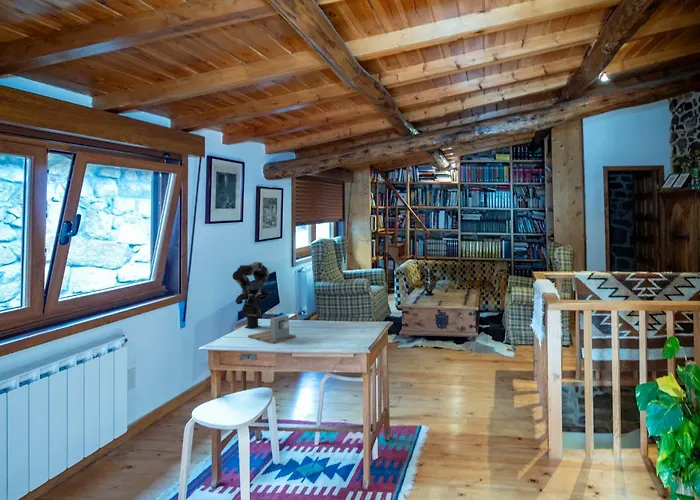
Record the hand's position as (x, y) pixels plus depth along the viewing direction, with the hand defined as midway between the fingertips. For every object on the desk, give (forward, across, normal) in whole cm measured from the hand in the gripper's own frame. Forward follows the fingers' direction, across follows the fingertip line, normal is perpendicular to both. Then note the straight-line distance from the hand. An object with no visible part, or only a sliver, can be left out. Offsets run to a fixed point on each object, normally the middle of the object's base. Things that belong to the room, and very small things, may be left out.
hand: (260, 309), depth 259 cm
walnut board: (+16, 0, +4) cm, 16 cm away
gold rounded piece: (+18, 0, -6) cm, 19 cm away
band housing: (+20, 0, -2) cm, 20 cm away
